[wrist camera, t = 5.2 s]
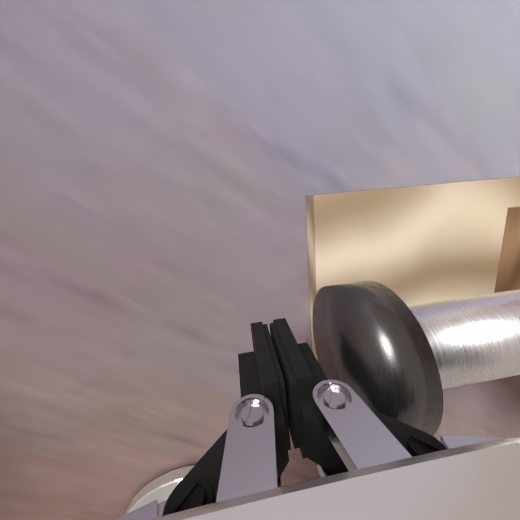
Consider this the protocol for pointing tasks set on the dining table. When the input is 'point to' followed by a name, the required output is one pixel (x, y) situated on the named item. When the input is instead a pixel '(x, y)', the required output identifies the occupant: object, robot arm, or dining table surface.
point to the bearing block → (418, 240)
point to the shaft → (413, 346)
